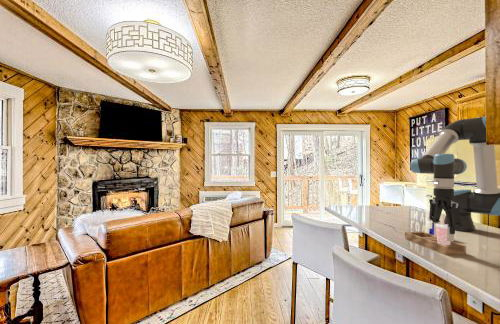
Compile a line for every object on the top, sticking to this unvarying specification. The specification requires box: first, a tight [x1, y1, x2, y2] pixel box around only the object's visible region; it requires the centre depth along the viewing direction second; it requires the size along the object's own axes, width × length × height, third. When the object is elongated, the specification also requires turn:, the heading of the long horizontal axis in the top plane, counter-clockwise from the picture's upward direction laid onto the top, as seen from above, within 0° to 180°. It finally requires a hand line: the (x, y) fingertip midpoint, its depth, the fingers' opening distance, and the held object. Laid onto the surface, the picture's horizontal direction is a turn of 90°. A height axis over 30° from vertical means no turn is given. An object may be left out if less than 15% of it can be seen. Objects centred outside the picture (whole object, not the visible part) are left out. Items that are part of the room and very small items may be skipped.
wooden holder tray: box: [404, 231, 467, 256], centre depth 124 cm, size 24×10×4 cm, turn 8°
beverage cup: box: [435, 214, 450, 245], centre depth 118 cm, size 6×6×14 cm
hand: (443, 238), depth 118 cm, fingers closed on beverage cup, 6 cm apart
